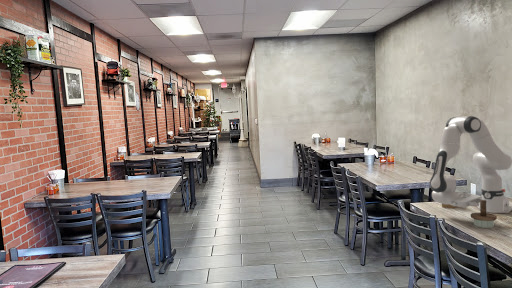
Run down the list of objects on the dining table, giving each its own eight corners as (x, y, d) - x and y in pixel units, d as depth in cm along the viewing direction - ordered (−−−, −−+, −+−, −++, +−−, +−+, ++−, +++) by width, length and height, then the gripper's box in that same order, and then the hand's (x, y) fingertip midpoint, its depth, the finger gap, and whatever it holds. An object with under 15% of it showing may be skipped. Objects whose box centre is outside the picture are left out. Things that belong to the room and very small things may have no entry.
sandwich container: (454, 202, 260) (454, 182, 259) (455, 208, 247) (454, 187, 246) (441, 202, 264) (440, 182, 263) (441, 207, 251) (440, 186, 250)
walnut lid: (477, 213, 217) (477, 196, 216) (501, 217, 206) (500, 200, 205) (466, 217, 210) (465, 200, 210) (489, 222, 199) (489, 204, 198)
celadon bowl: (479, 221, 215) (478, 214, 215) (497, 225, 207) (497, 217, 206) (470, 224, 210) (470, 217, 210) (488, 228, 202) (488, 221, 201)
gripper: (449, 197, 214) (472, 201, 202) (467, 191, 225) (490, 195, 213) (449, 207, 215) (473, 211, 203) (467, 201, 225) (491, 205, 213)
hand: (482, 203), depth 208 cm, fingers open, 8 cm apart
